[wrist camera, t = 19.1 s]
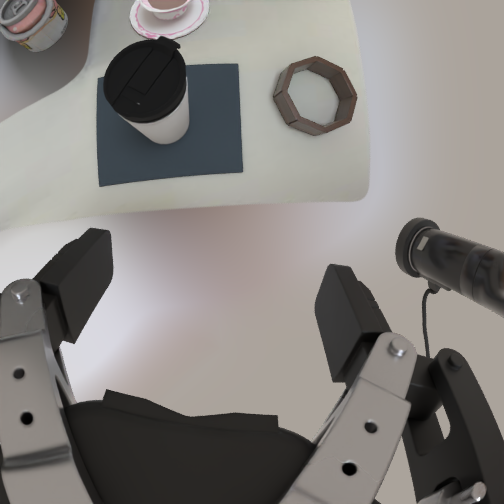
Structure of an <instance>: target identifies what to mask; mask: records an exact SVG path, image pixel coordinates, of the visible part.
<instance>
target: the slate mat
mask: <svg viewBox="0 0 504 504" xmlns="http://www.w3.org/2000/svg"><path fill="white" fill-rule="evenodd" d="M186 77H187V85H188V104H189V120H190V121H189V127H188V130H187V131H186V133H185V134H184V136H183V137H182V138H181V139H179V140H178V141H176V142H174V143H171V144H158V143H155V142H153V141H152V140H150V139H149V138H148V137H146V136H145V135H144V134H143V133H141V132H140V131H139V130H137V129H136V128H135V127H134V126H132V125H131V124H130V123H128V122H127V121H126V120H125V119H123V118H122V117H121V116H120V115H119V114H118V113H117V112H115V111H114V109H113V108H112V106H111V105H110V104H109V102H108V101H107V100H106V98H105V95H104V91H103V81H104V77H101V78H98V85H97V159H98V176H99V187H101V186H107V185H114V184H121V183H129V182H137V181H145V180H153V179H162V178H172V177H182V176H194V175H206V174H221V173H237V172H243V162H242V140H241V118H240V95H239V71H238V64H202V65H186Z"/></svg>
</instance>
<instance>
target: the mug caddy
mask: <svg viewBox="0 0 504 504" xmlns="http://www.w3.org/2000/svg"><path fill="white" fill-rule="evenodd" d="M306 69H308V70H310V71H313V72H315V73H317V74H319V75H321V76H323V77H326V78H328V79H329V80H330V82H331V83H332V85H333V87H334V89H335V91H336V93H337V95H338V97H339V99H340V103H339V107H338V110H337V114H336V118H335V121H334V122H332V123H330V124H328V125H325V126H322V125H320V124H317V123H315V122H313V121H310V120H308V119H305V118H303V117H301V116H300V115H299V113H298V111H297V109H296V107H295V105H294V103H293V101H292V100H291V98H290V96H289V94H288V92H287V90H288V87H289V84H290V81H291V78H292V75H293V74H294V73H297V72H300V71H303V70H306ZM273 97H274V101H275V103H276V105H277V107H278V109H279V111H280V112H281V114H282V116H283V118H284V120H285V122H286V124H288V126H291V127H293V128H296V129H298V130H301V131H303V132H306V133H308V134H311V135H313V136H314V135H315V136H316V135H320V134H324V133H328V132H330V131H332V130H334V129H336V128H339V127H341V126H343V125H346V124H348V123H350V121H351V120H352V116H353V113H354V109H355V105H356V101H357V94H356V92H355V90H354V88H353V86H352V84H351V82H350V80H349V78H348V76H347V74H346V72H345V70H343V68H341V67H339V66H337V65H335V64H333V63H331V62H329V61H327V60H325V59H323V58H320V57H318V56H317V57H316V56H314V57H311V58H308V59H304V60H301V61H298V62H295V63H292V64H290V65H289V66H288V67H287V68H286V69H285V70H284V71H283V72H282V73H281V75H280V78H279V81H278V84H277V87H276V90H275V93H274V96H273Z"/></svg>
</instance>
